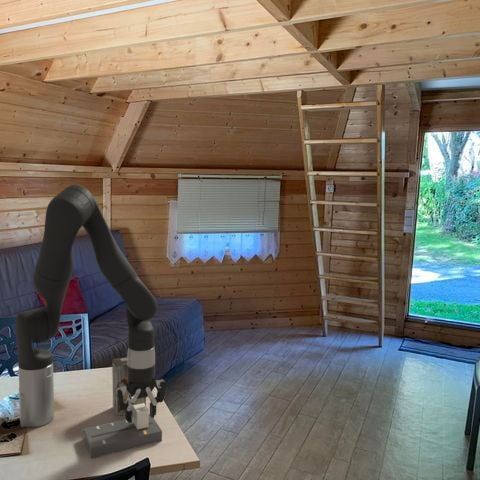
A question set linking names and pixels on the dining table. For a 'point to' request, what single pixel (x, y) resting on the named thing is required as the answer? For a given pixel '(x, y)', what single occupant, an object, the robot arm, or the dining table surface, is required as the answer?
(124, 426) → the fader console
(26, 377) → the robot arm
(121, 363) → the coffee box
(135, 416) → the fader knob
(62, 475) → the dining table surface
